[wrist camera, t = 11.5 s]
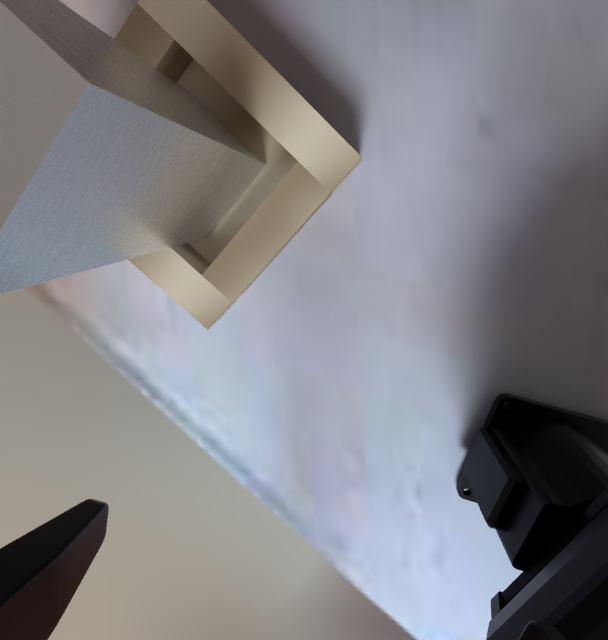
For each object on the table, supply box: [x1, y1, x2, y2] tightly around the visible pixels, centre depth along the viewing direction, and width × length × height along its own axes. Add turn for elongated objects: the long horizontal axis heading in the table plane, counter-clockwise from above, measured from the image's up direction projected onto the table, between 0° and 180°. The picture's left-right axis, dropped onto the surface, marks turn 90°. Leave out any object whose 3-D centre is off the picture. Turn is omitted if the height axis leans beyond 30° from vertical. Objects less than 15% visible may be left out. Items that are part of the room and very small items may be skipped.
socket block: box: [115, 0, 362, 329], centre depth 18 cm, size 10×10×3 cm
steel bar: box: [0, 0, 266, 294], centre depth 12 cm, size 4×4×13 cm
